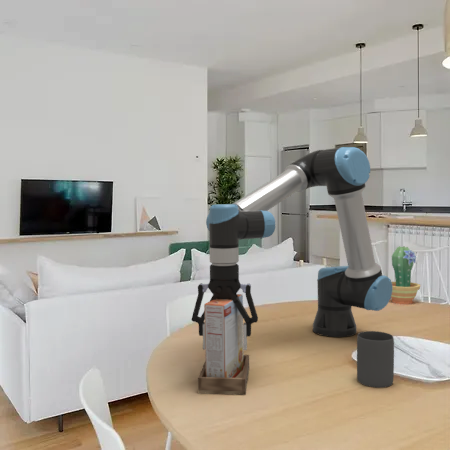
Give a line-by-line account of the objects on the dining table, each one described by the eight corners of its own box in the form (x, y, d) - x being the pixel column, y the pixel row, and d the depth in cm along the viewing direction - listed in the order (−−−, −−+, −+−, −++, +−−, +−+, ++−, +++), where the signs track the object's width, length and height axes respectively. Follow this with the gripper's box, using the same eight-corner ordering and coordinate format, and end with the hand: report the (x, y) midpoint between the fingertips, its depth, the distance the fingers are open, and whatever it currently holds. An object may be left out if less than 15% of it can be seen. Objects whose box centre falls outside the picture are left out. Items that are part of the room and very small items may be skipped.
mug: (395, 389, 123) (396, 341, 122) (357, 386, 125) (357, 339, 124) (389, 370, 136) (390, 327, 136) (355, 368, 138) (355, 325, 138)
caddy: (249, 368, 139) (249, 354, 139) (245, 394, 121) (245, 379, 120) (208, 367, 140) (208, 354, 140) (198, 393, 122) (198, 378, 122)
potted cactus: (387, 305, 217) (387, 248, 215) (381, 298, 232) (382, 244, 230) (424, 306, 214) (425, 248, 212) (416, 298, 229) (417, 244, 228)
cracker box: (223, 366, 138) (223, 292, 137) (244, 369, 136) (244, 293, 135) (203, 384, 125) (203, 302, 124) (226, 388, 123) (225, 304, 122)
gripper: (267, 261, 131) (268, 344, 133) (184, 261, 134) (185, 343, 135) (267, 265, 124) (268, 353, 125) (178, 265, 126) (180, 351, 127)
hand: (225, 348), depth 130 cm, fingers open, 10 cm apart
